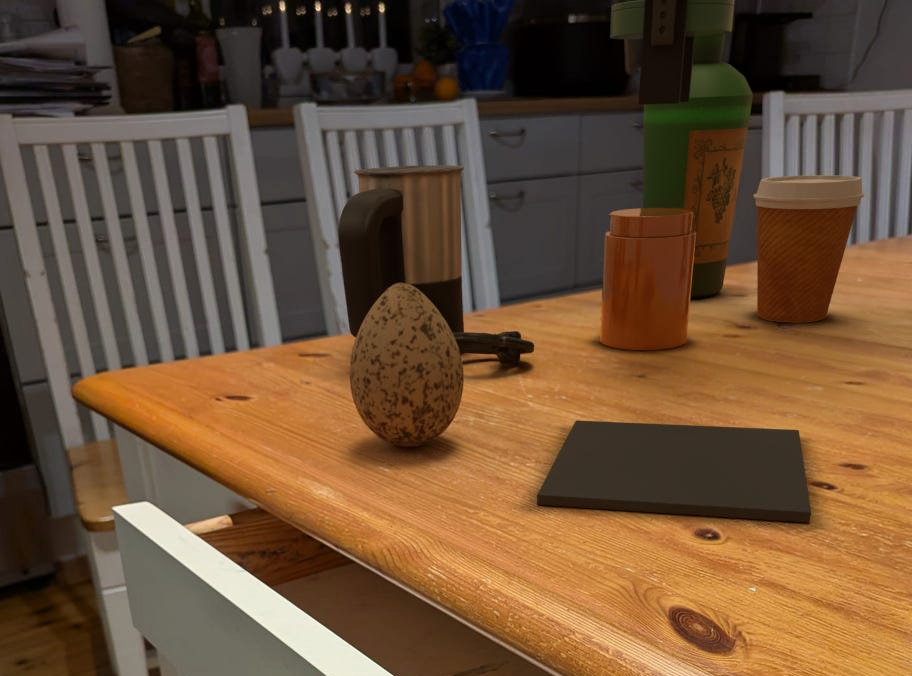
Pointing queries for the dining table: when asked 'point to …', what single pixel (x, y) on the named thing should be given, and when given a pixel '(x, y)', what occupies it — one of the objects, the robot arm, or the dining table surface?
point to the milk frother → (412, 249)
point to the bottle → (700, 157)
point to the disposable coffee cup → (802, 243)
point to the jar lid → (704, 17)
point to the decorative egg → (406, 369)
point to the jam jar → (647, 278)
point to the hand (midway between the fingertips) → (665, 102)
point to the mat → (681, 471)
